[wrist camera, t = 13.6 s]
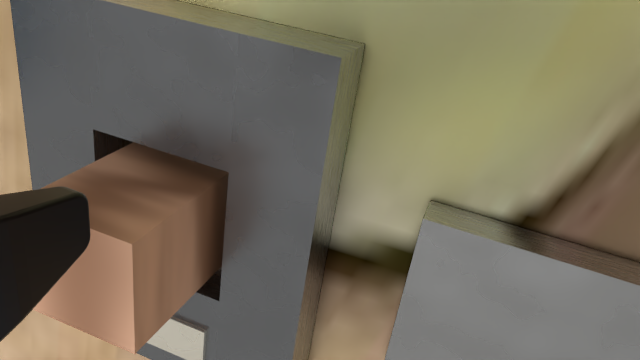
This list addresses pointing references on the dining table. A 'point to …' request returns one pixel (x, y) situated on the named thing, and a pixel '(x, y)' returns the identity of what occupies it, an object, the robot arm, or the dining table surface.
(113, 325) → the peg
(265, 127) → the plate
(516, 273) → the tray
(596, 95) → the dining table surface
